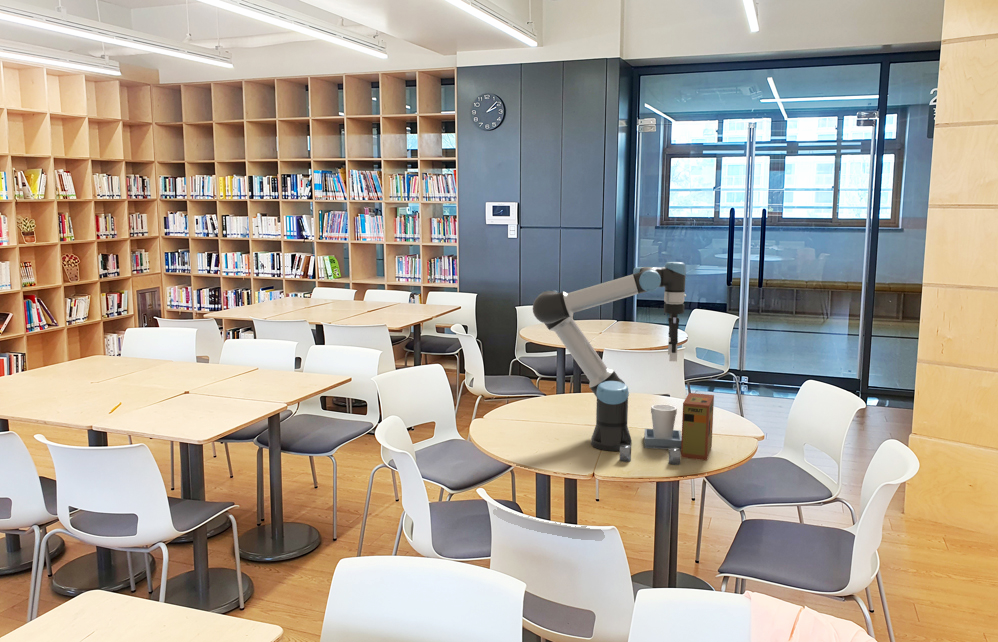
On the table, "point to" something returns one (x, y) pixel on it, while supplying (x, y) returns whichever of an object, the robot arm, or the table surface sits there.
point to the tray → (662, 440)
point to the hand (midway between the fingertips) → (672, 357)
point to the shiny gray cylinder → (674, 456)
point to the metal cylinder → (625, 453)
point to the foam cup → (663, 420)
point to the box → (697, 426)
